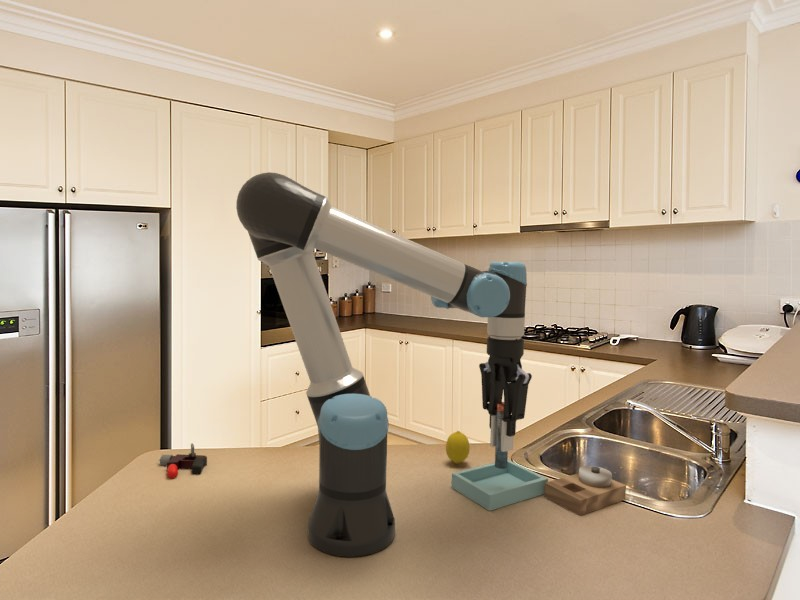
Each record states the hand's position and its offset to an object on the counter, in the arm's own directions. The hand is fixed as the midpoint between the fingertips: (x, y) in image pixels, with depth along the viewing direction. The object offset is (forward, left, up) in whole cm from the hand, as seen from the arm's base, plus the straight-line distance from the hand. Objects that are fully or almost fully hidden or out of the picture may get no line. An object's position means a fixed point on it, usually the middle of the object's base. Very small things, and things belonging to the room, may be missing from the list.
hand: (501, 447), depth 112 cm
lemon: (+1, +16, -10) cm, 18 cm away
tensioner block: (+13, -11, -9) cm, 20 cm away
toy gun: (-57, +43, -10) cm, 72 cm away
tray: (0, 0, -9) cm, 9 cm away
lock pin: (0, 0, -4) cm, 4 cm away
